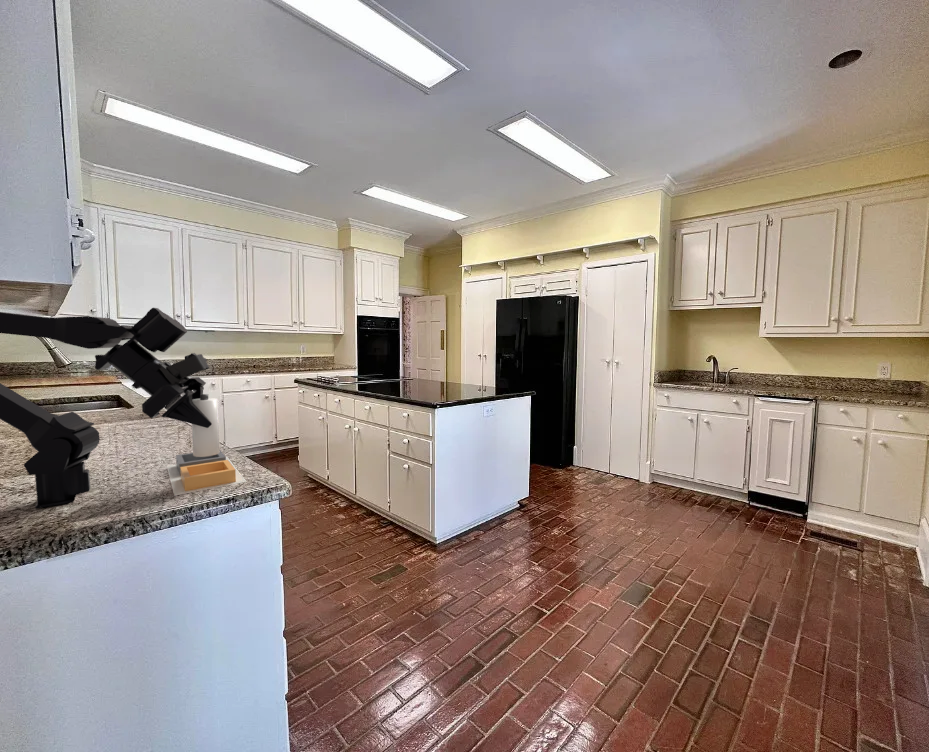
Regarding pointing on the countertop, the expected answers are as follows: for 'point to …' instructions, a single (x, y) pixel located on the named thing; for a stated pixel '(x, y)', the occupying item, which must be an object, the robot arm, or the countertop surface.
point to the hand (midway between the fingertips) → (213, 423)
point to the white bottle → (204, 437)
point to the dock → (202, 473)
